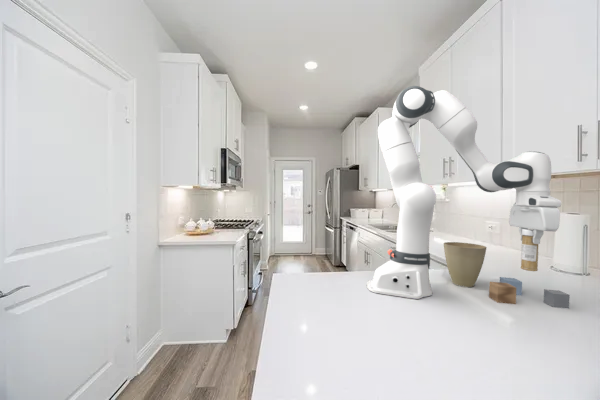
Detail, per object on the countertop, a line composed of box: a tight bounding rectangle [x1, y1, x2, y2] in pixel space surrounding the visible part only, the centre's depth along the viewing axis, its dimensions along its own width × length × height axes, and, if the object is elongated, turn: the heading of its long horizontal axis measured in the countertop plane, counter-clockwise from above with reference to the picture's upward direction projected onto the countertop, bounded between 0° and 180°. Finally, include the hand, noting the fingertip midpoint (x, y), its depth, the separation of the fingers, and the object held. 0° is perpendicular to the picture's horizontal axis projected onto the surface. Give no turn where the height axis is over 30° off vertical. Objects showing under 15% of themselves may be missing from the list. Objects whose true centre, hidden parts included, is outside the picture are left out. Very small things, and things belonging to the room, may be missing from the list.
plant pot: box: [443, 241, 487, 288], centre depth 113 cm, size 15×15×16 cm
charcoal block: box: [543, 288, 571, 309], centre depth 93 cm, size 4×4×4 cm
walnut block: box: [488, 281, 517, 305], centre depth 96 cm, size 6×6×6 cm
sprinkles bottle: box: [520, 229, 539, 272], centre depth 94 cm, size 5×5×14 cm
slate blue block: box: [498, 276, 523, 296], centre depth 105 cm, size 5×5×5 cm
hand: (529, 242), depth 94 cm, fingers closed on sprinkles bottle, 4 cm apart
